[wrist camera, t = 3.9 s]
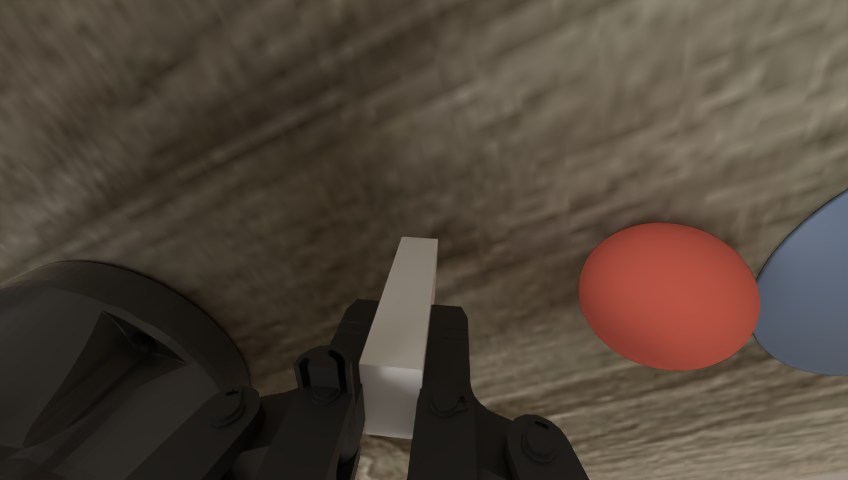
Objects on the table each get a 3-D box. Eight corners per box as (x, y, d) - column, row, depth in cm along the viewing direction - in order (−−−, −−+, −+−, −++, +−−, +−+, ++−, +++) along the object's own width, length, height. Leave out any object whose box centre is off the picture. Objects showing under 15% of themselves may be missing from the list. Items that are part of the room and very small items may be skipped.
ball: (551, 300, 16) (591, 396, 11) (578, 197, 14) (645, 266, 9) (664, 308, 16) (755, 412, 11) (714, 205, 13) (860, 281, 9)
